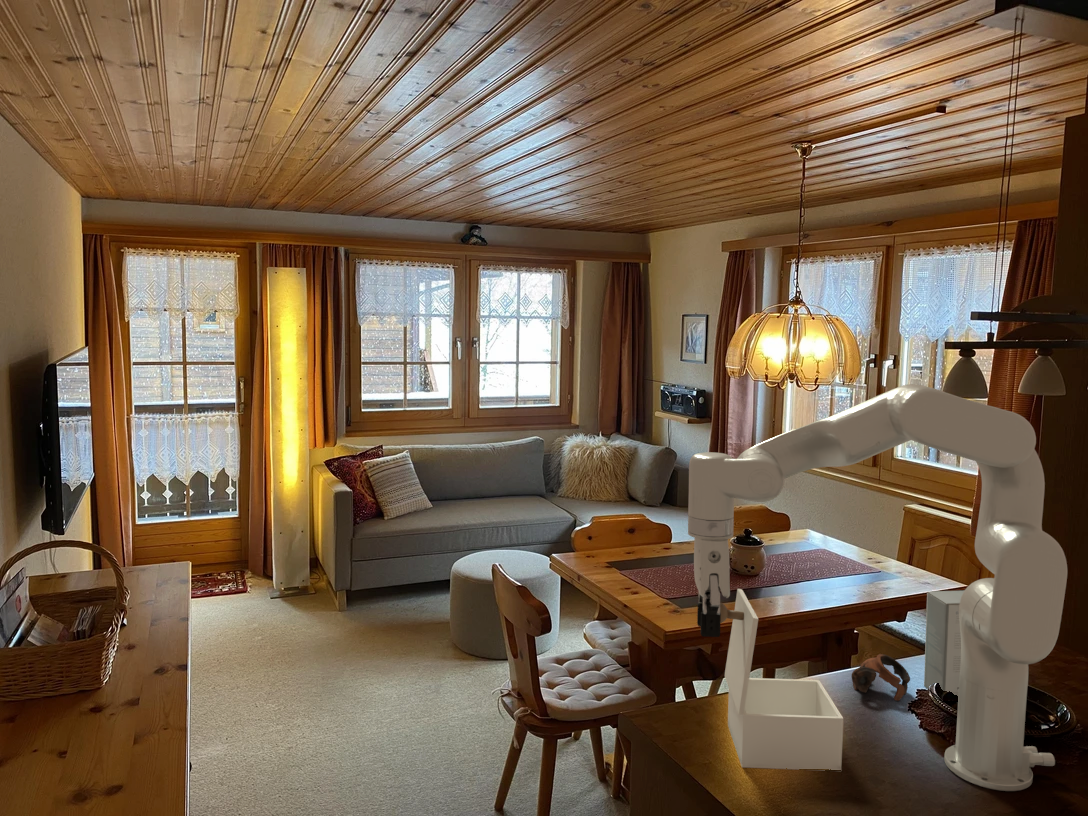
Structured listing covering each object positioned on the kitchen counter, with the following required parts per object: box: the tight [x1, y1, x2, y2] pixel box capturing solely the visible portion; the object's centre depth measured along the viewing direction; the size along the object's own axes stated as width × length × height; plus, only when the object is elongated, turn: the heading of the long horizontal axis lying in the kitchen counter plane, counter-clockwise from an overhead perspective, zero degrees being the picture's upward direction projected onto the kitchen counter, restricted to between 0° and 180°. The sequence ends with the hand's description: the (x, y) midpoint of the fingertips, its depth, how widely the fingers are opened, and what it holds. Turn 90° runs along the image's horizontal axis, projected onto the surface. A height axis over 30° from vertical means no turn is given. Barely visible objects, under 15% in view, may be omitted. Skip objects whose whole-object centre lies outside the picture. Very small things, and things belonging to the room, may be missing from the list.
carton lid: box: [720, 588, 759, 715], centre depth 135 cm, size 16×14×7 cm
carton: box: [727, 677, 844, 771], centre depth 135 cm, size 16×14×9 cm
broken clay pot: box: [851, 653, 911, 702], centre depth 156 cm, size 12×9×8 cm
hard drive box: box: [923, 589, 965, 696], centre depth 155 cm, size 16×8×20 cm, turn 92°
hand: (708, 629), depth 135 cm, fingers closed on carton lid, 3 cm apart
